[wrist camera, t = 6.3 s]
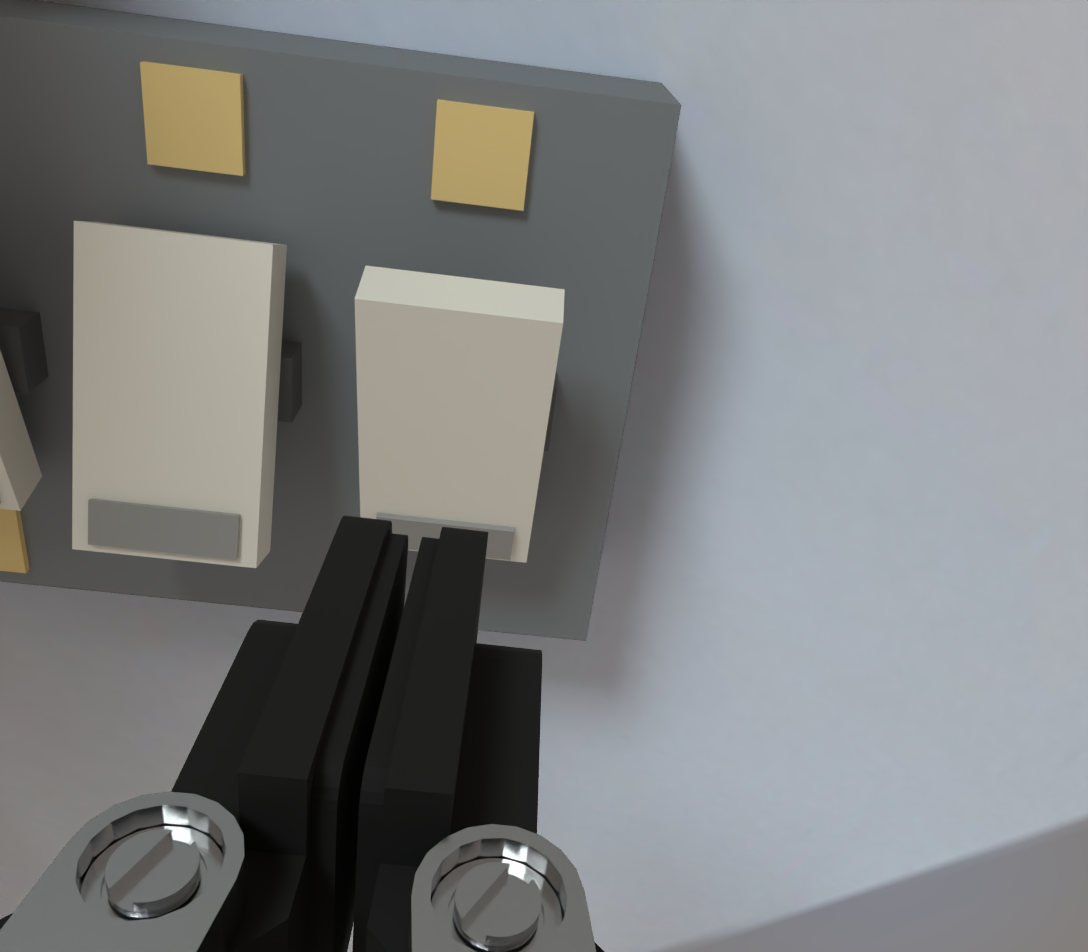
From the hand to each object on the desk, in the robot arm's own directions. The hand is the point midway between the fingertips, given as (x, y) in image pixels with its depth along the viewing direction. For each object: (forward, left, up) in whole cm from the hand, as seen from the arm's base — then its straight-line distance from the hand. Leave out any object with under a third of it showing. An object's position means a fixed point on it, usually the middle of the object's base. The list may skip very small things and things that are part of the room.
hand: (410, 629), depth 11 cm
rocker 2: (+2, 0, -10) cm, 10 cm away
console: (+2, -6, -16) cm, 17 cm away
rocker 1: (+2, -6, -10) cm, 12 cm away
